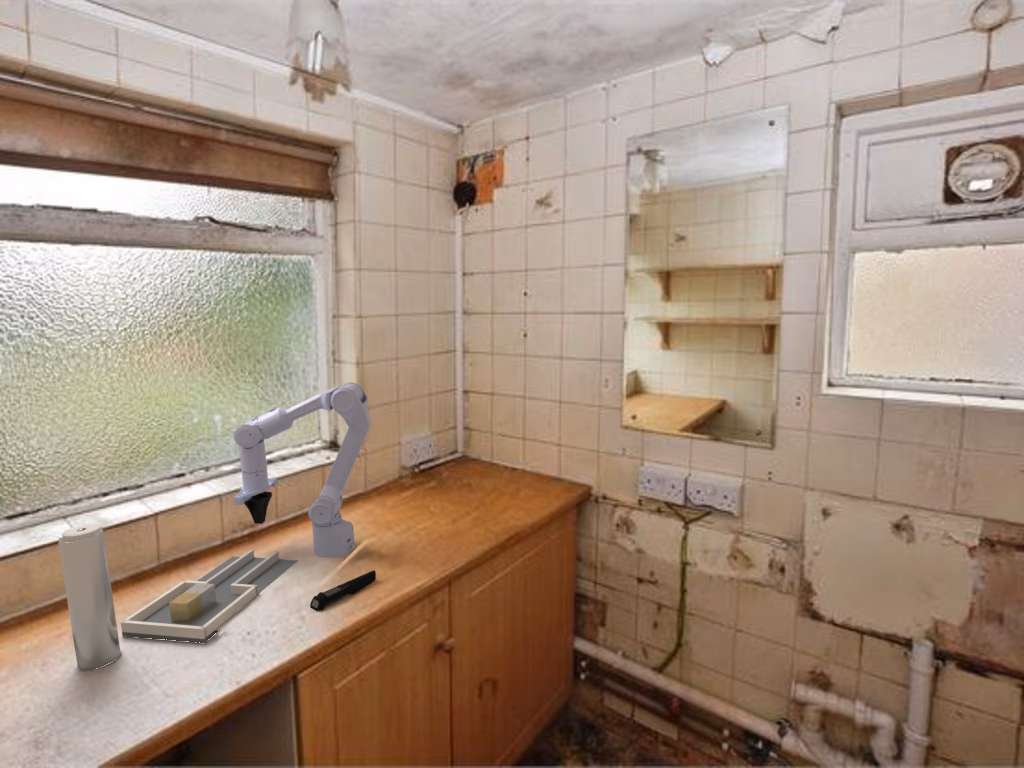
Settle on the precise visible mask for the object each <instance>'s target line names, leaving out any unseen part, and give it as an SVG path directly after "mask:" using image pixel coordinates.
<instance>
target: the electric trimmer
mask: <svg viewBox="0 0 1024 768" xmlns="http://www.w3.org/2000/svg"><path fill="white" fill-rule="evenodd" d="M376 573H377V572H376V570H371V571H369V572H366V573H364V574H362V575H359V576H357V577H355V578H352V579H350V580H348V581H345V582H343V583H341V584H339V585H337V586H335V587H332V588H330V589H328V590H324V591H321V592H318V593H317V595H315V596H313V598H312V599H311V601H310V604H309V607H310V609H312V610H314V612H320V611H321V612H322V611H324V609H325V607H327V606H329V605H331V604H333V603H335V602H337V601H339V600H341V599H343V598H345V597H347V596H350V595H355V594H357V593H359V592H360V591H362V590H364V589H365V588H367V587H368V586H370V585H371V584H372V583H374V582H375V581H376V580H377V575H376Z"/></svg>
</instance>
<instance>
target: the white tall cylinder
mask: <svg viewBox="0 0 1024 768" xmlns="http://www.w3.org/2000/svg"><path fill="white" fill-rule="evenodd" d="M58 539H59V540H58V541H57V542H58V543H57V544H58V548H59V549H58V550H59V556H60V562H61V569H62V575H63V580H64V582H63V583H64V588H65V594H66V600H67V606H68V608H67V609H68V614H69V620H70V626H71V632H72V638H73V639H72V640H73V646H74V652H75V653H74V654H75V657H76V664H77V669H78V668H79V669H80V671H82V670H91V671H94V670H93V669H96V668H100V667H102V666H104V665H106V664H108V663H110V662H112V661H114V660H115V659H117V658H118V657H119V658H120V656H121V655H120V654H121V653H122V651H121V650H122V649H121V645H120V639H119V632H118V625H117V624H118V623H117V617H116V611H115V604H114V598H113V597H114V596H113V589H112V584H111V583H112V582H111V575H110V568H109V563H108V554H107V547H106V542H105V534H104V529H103V528H102V525H101V524H100V523H86V524H79V525H77V526H73V527H70V528H68V529H65V530H64V531H63V532H62V533H61V536H60V537H59V538H58ZM119 655H120V656H119ZM119 658H118V659H119ZM118 659H117V660H118ZM115 661H116V660H115ZM115 661H114V662H115ZM102 668H103V667H102ZM79 669H78V670H79ZM100 669H101V668H100ZM96 670H97V669H96Z"/></svg>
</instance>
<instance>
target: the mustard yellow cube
mask: <svg viewBox="0 0 1024 768" xmlns="http://www.w3.org/2000/svg"><path fill="white" fill-rule="evenodd" d="M169 607H170V615H171V621H174V622H186V623H189V622H191V621H192V620H193V619H194V618H196V617H197V616H198V615H200V614H201V613H202V612H203V606H202V598H201V594H198V593H182V594H181V595H179V596H178V597H176V598H175V599H174V600H172V601H171V602H169Z"/></svg>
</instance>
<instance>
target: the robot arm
mask: <svg viewBox="0 0 1024 768" xmlns="http://www.w3.org/2000/svg"><path fill="white" fill-rule="evenodd" d="M368 403H369V402H368V396H367V394H366V392H365V391H364V389H363V388H362V386H361V385H360V384H358V383H355V382H347V383H344V384H343V385H341V387H340V386H335V387H331V388H329V389H326V390H323V391H321V392H320V393H318V394H316V395H314V396H311V397H309V398H307V399H305V400H304V401H301V402H300V403H298V404H296V405H294V406H291V407H290V408H286V407H282V406H279V407H276V406H273V407H271V408H270V409H268V411H269V412H266V413H264V414H262V415H260V416H256V415H255V416H254V417H251V420H250V421H247V422H246V423H243V424H241V425H239V426H238V427H237V428H236V429H235V430H234V434H233V439H234V442H235V443H236V444H237V446H238V448H239V458H240V468H241V478H242V486H241V487H239V493H237V494H236V495H234V496H233V502H234V503H233V505H237V506H243V505H245V507H246V508H247V510H248V512H249V513H250V515H251V517H252V520H253V523H254V524H256V525H257V524H259V525H260V524H264V523H265V522H266V516H267V511H268V507H269V503H270V501H271V499H272V497H273V492H272V491H270V489H271V488H272V487H277V486H278V478H277V477H268V476H269V475H268V465H267V464H268V463H267V456H266V455H267V454H266V446H265V440H269V439H271V438H273V437H275V436H277V435H279V434H281V433H283V432H285V431H287V430H289V429H291V428H292V427H293V424H294V421H296V420H299V419H300V418H302V417H306V416H307V415H310V414H312V413H315V412H316V411H318V410H325V411H328V412H329V411H332V410H334V411H335V412H336V413H337V414H338V415H339V416H340V417H342V418H343V420H344V422H345V423H346V425H347V427H348V429H347V431H346V433H345V436H344V439H343V441H342V443H341V445H340V448H339V451H337V455H336V457H335V460H334V461H333V464H332V466H331V469H330V472H329V474H328V476H327V479H326V481H325V484H324V486H323V487H322V489H321V492H320V493H319V494H318V497H317V498H316V500H315V501H314V502H313V503H312V504H310V506H309V508H308V511H307V512H308V513H307V514H308V518H309V521H311V527H312V537H313V538H312V540H313V541H312V542H313V550H314V555H315V556H316V557H320V558H329V557H330V558H331V557H333V558H343V560H342V562H344V561H345V560H346V559H347V558H348V557H349V556H350V555H351V554H352V553H353V552H354V551H355V550H356V549H357V547H356V545H355V532H354V526H353V525H354V524H353V523H352V521H349V520H345V519H343V517H342V514H341V512H340V509H341V508H342V506H343V495H344V491H345V487H346V485H347V482H348V480H349V478H350V475H351V473H352V471H353V468H354V465H355V463H356V461H357V458H358V456H359V453H360V452H361V449H362V446H363V444H364V442H365V440H366V437H367V436H368V433H369V430H370V427H371V425H372V424H371V423H372V420H371V415H370V410H369V409H370V408H369V404H368Z"/></svg>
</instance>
